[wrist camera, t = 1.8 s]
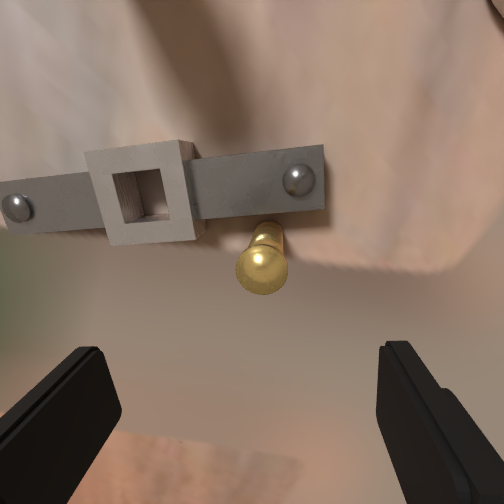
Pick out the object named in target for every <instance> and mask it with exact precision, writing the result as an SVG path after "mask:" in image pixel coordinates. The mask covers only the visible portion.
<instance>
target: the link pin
mask: <svg viewBox="0 0 504 504" xmlns="http://www.w3.org/2000/svg"><path fill="white" fill-rule="evenodd" d="M236 275H237V278H238V281H239V282H240V284H241V285H242V286H243V287H244V288H245V289H247V290H248V291H250V292H252V293H255V294H259V295H266V294H271V293H274V292H276V291H277V290H279V289H280V288H281V287H282V286H283V285H284V283H285V281H286V279H287V275H288V265H287V261H286V258H285V256H284V255H283V231H282V228H281V227H280V225H279V224H277V223H276V222H274V221H263V222H261V223H260V224H259V225H258V226H257V227H256V229H255V231H254V234H253V236H252V239H251V241H250V244H249V246H248V248H247V249H245V250H244V251H243V252H242V254H241V255H240V257H239V259H238V262H237V265H236Z"/></svg>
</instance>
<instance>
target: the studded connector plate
mask: <svg viewBox="0 0 504 504" xmlns="http://www.w3.org/2000/svg"><path fill="white" fill-rule="evenodd" d="M84 155H85V159H86V162H87V166H88V169H89V172H82V173H73V174H65V175H56V176H48V177H39V178H31V179H22V180H13V181H5V182H0V210H1V212H2V215H3V217H4V220H5V222H6V225H7V227H8V230H9V232H10V235H23V234H34V233H46V232H58V231H70V230H82V229H94V228H105V229H106V233H107V236H108V240H109V243H110V246H120V245H133V244H147V243H160V242H174V241H188V240H196V239H197V238H198V237H199V236H201V235H202V234H203V233H204V232H205V231H206V230H207V227H206V221H205V219H212V218H224V217H236V216H248V215H260V214H272V213H283V212H295V211H307V210H319V209H325V198H324V148H323V144H322V145H314V146H305V147H297V148H288V149H279V150H271V151H262V152H254V153H245V154H237V155H228V156H219V157H211V158H202V159H195V153H194V147H193V142H187V141H182V140H172V141H164V142H157V143H149V144H141V145H133V146H125V147H117V148H110V149H102V150H94V151H86V152H84ZM155 169H160V172H161V177H162V181H163V186H164V191H165V196H166V201H167V206H168V211H169V214H158V215H147V216H145V215H144V211H143V207H142V202H141V198H140V194H139V190H138V185H137V181H136V177H135V172H137V171H146V170H155Z"/></svg>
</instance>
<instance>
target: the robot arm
mask: <svg viewBox="0 0 504 504" xmlns="http://www.w3.org/2000/svg"><path fill="white" fill-rule="evenodd" d="M492 3H493V5H494V6H495V7H496V9H497V10H498V11H499V13H500V14H501V15H502V17H503V18H504V0H492ZM121 412H122V408H121V405H120V402H119V400H118V396H117V393H116V390H115V387H114V384H113V381H112V378H111V375H110V372H109V369H108V366H107V363H106V360H105V357H104V354H103V352H102V351H100V349H99V348H98V347H95V346H94V347H93V346H91V347H79V348H77V349H75V350H74V351H73V352H72V353H71V354H70V355H69V356H68V357H66V358H65V359H64V360H63V361H62V362H61V363H60V364H59V365H58V366H57V367H56V368H55V369H54V370H52V371H51V372H50V373H49V374H48V375H47V376H46V377H45V378H44V379H43V380H41V381H40V382H39V383H38V384H37V385H36V386H35V387H34V388H33V389H32V390H30V391H29V392H28V393H27V394H26V395H25V396H24V397H23V398H22V399H21V400H20V401H18V402H17V403H16V404H15V405H14V406H13V407H12V408H11V409H10V410H9V411H7V412H6V413H5V414H4V415H3V416H2V417H1V418H0V504H67V502H68V501H69V499H70V497H71V496H72V494H73V493H74V491H75V490H76V488H77V486H78V485H79V483H80V482H81V480H82V478H83V477H84V475H85V474H86V472H87V470H88V469H89V467H90V466H91V464H92V462H93V461H94V459H95V458H96V456H97V454H98V453H99V451H100V450H101V448H102V446H103V445H104V443H105V442H106V440H107V439H108V437H109V435H110V434H111V432H112V431H113V429H114V427H115V426H116V424H117V423H118V421H119V419H120V417H121ZM376 417H377V422H378V425H379V428H380V431H381V434H382V436H383V439H384V442H385V444H386V447H387V450H388V453H389V455H390V458H391V461H392V464H393V467H394V469H395V472H396V475H397V477H398V480H399V483H400V486H401V489H402V491H403V494H404V497H405V500H406V502H407V504H504V461H503V460H502V459H501V457H500V456H499V454H498V453H497V452H496V450H495V449H494V448H493V446H492V445H491V444H490V442H489V441H488V440H487V438H486V437H485V435H484V434H483V433H482V431H481V430H480V429H479V427H478V426H477V425H476V423H475V422H474V421H473V419H472V418H471V416H470V415H469V414H468V412H467V411H466V410H465V408H464V407H463V406H462V404H461V403H460V402H459V400H458V399H457V397H456V396H455V395H454V394H453V393H452V392H451V391H450V390H449V389H447V388H441V387H440V386H439V385H438V383H437V382H436V380H435V379H434V377H433V376H432V375H431V373H430V372H429V370H428V369H427V367H426V366H425V364H424V363H423V362H422V360H421V359H420V357H419V356H418V354H417V353H416V352H415V350H414V349H413V347H412V346H411V344H410V343H409V342H408V341H387V342H386V343H385V346H381V347H380V349H379V365H378V384H377V403H376Z"/></svg>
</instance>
